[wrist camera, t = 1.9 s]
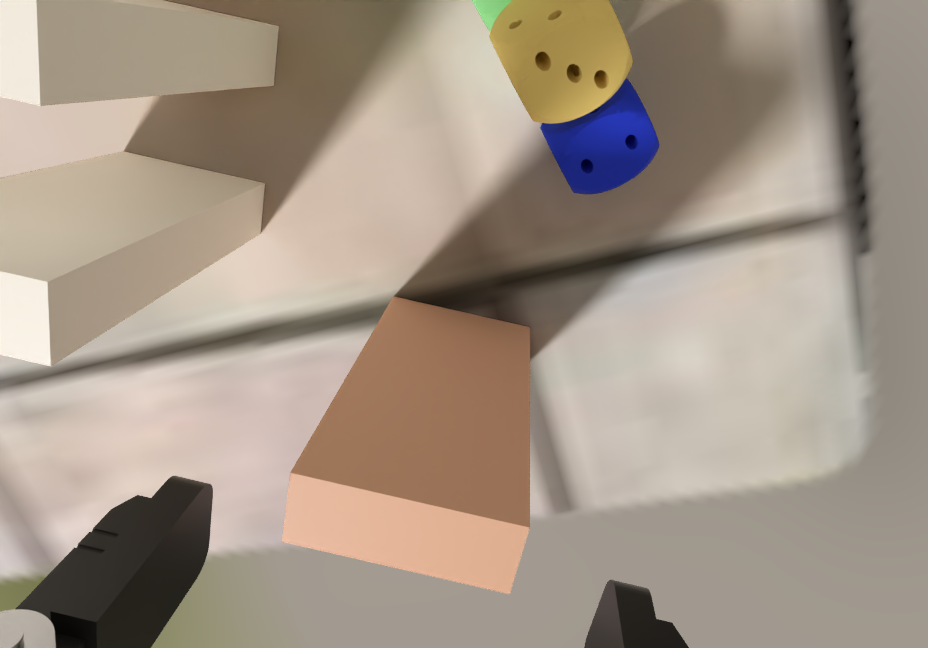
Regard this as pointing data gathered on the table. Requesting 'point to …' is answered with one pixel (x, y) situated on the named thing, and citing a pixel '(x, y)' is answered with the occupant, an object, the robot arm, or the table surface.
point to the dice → (575, 86)
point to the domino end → (424, 451)
